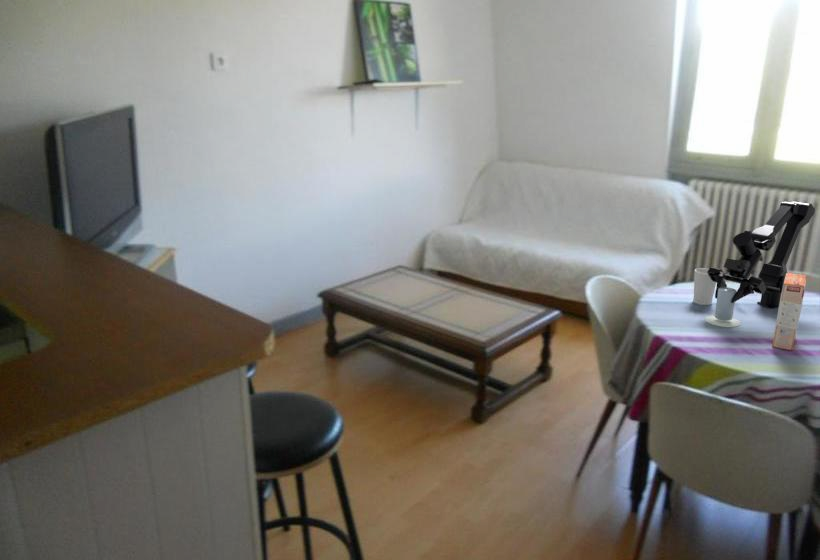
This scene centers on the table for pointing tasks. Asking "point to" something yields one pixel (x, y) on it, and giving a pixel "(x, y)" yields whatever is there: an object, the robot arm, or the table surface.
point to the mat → (722, 322)
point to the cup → (703, 287)
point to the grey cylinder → (725, 303)
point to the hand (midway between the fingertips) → (723, 300)
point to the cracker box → (789, 311)
